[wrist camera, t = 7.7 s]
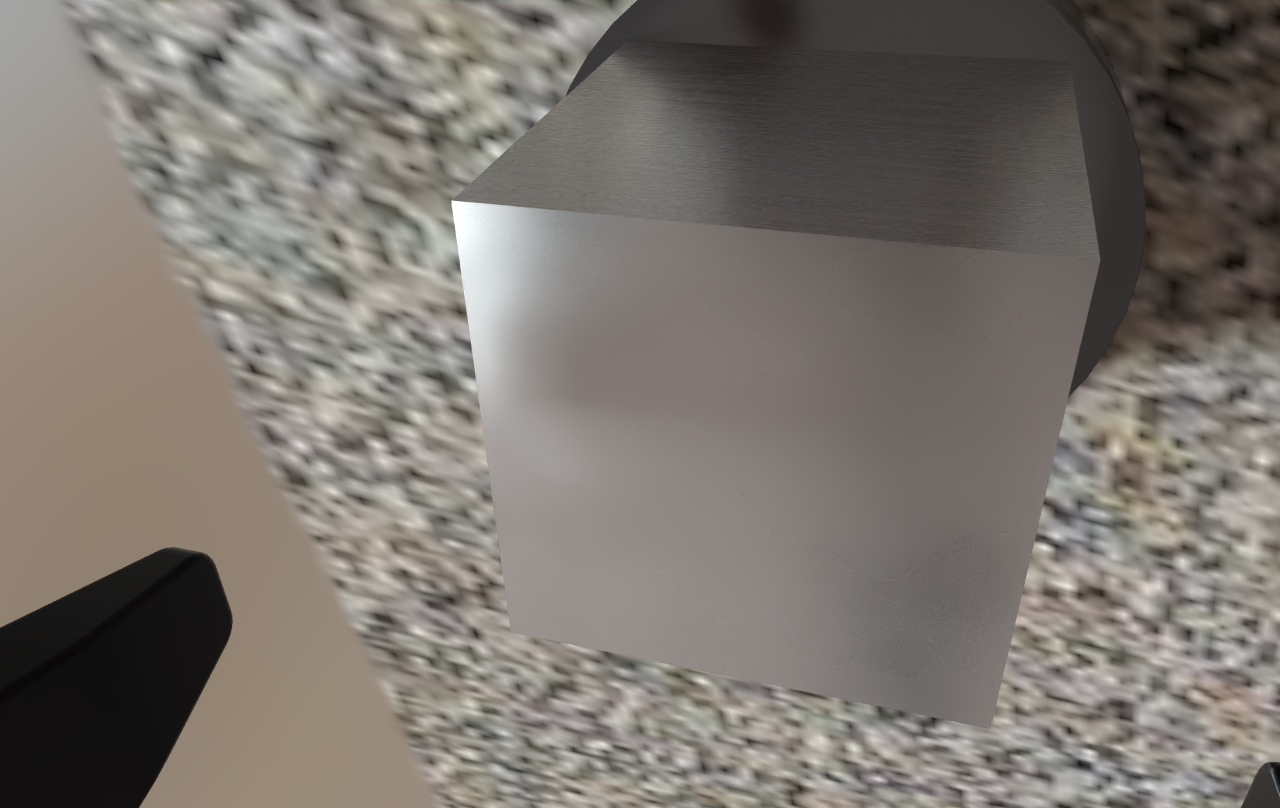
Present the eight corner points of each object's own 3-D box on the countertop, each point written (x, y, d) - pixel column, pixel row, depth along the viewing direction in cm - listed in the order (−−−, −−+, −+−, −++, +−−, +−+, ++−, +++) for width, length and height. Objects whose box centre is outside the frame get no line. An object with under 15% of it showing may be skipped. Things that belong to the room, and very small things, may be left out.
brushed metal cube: (996, 437, 17) (990, 728, 12) (640, 389, 18) (511, 632, 14) (1069, 61, 14) (1100, 260, 9) (628, 39, 15) (451, 200, 10)
